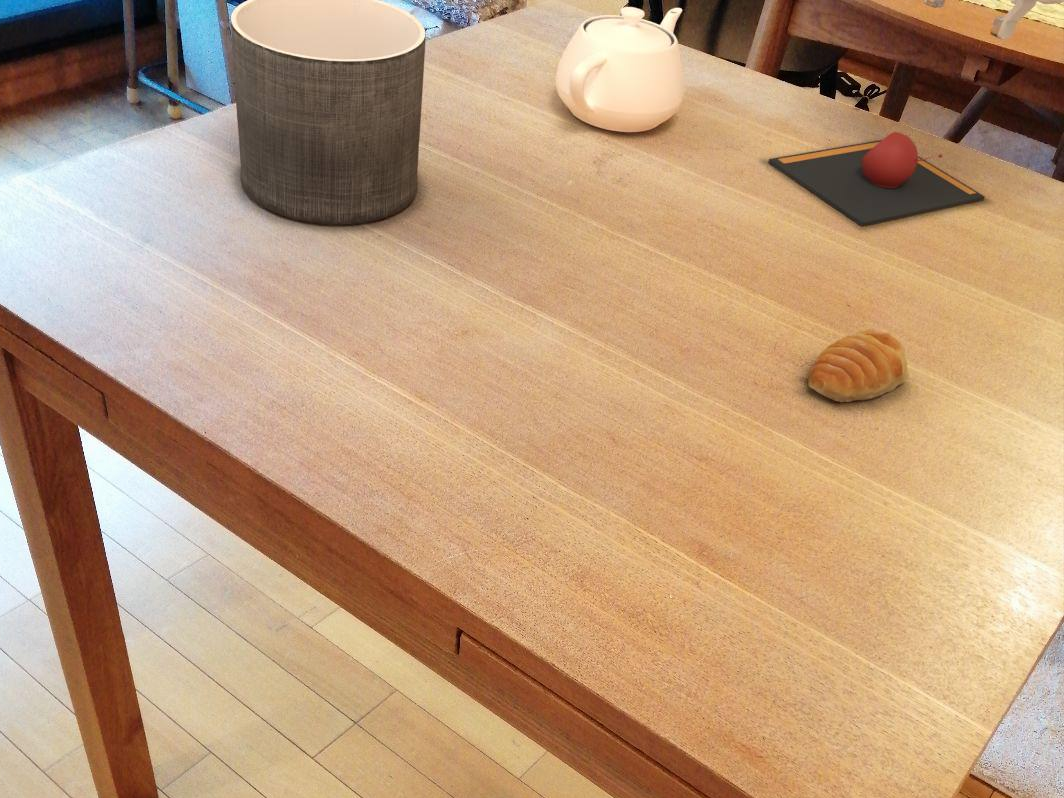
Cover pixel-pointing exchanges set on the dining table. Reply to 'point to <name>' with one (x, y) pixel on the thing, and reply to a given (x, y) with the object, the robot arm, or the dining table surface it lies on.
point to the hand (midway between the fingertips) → (965, 20)
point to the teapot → (623, 71)
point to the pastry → (859, 367)
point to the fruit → (891, 161)
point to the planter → (328, 107)
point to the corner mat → (872, 185)
